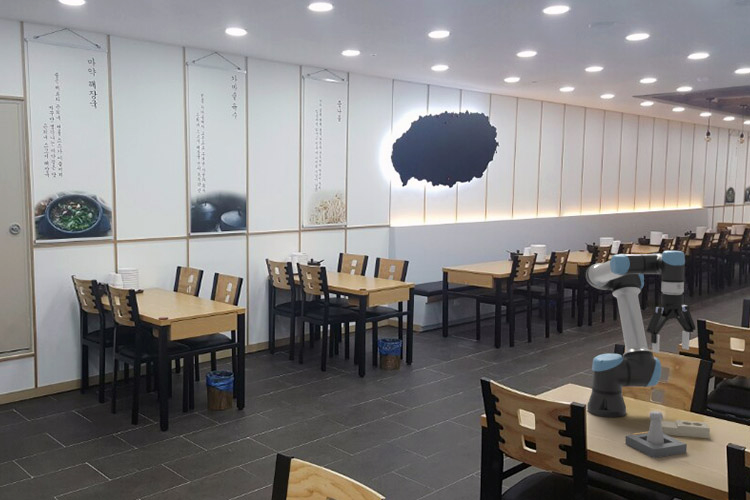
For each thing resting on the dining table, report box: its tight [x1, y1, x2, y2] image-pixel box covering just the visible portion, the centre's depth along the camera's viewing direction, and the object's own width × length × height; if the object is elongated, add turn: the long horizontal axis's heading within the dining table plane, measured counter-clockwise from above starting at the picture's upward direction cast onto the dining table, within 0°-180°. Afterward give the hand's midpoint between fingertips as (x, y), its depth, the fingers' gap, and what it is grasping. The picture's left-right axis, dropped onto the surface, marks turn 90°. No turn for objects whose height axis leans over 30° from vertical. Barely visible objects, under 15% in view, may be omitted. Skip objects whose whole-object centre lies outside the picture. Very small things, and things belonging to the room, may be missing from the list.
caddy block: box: [625, 430, 688, 459], centre depth 233 cm, size 14×14×3 cm
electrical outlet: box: [661, 419, 711, 439], centre depth 248 cm, size 7×4×18 cm
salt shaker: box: [647, 410, 664, 445], centre depth 233 cm, size 6×6×13 cm
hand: (670, 350), depth 244 cm, fingers open, 13 cm apart
